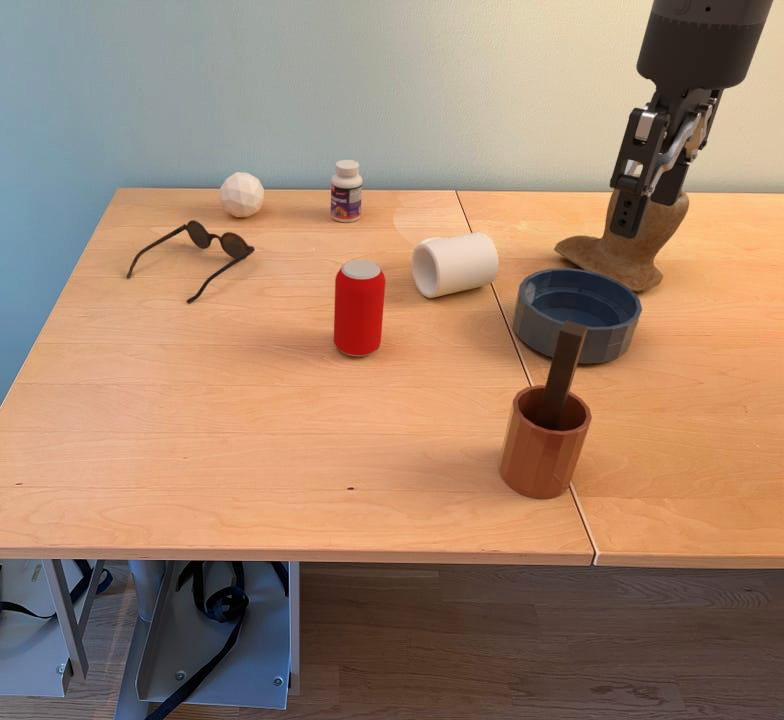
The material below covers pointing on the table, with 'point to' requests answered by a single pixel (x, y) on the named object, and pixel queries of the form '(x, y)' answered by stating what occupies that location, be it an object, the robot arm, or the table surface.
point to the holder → (542, 445)
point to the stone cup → (628, 245)
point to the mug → (454, 264)
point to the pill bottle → (346, 192)
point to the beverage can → (358, 307)
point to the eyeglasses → (203, 239)
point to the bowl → (576, 312)
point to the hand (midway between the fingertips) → (643, 218)
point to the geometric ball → (242, 194)
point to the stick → (561, 374)
